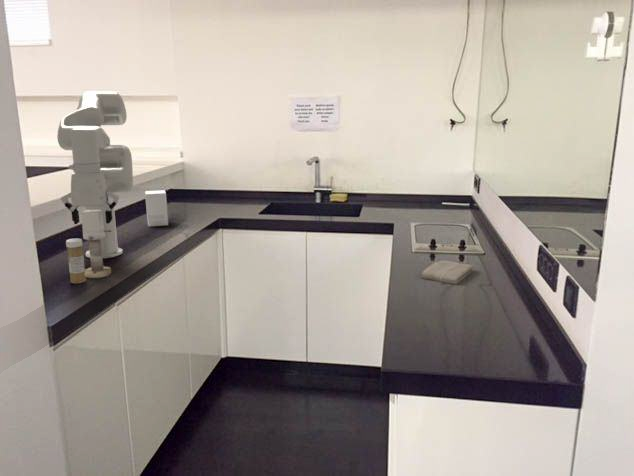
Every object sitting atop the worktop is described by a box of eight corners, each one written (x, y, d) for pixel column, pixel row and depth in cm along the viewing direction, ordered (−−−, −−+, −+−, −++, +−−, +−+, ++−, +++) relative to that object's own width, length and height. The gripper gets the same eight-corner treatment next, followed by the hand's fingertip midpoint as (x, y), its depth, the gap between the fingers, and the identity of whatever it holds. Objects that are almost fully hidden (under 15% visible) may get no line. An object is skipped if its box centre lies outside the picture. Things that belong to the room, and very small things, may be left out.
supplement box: (167, 221, 251) (165, 189, 247) (168, 225, 242) (166, 192, 239) (147, 222, 248) (144, 190, 244) (147, 226, 240) (145, 193, 236)
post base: (88, 270, 176) (85, 235, 174) (113, 270, 177) (110, 235, 174) (81, 278, 169) (77, 241, 166) (107, 277, 170) (104, 241, 167)
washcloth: (474, 271, 179) (475, 263, 179) (457, 286, 165) (457, 277, 164) (440, 266, 186) (440, 257, 185) (420, 279, 171) (421, 270, 170)
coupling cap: (80, 240, 166) (77, 214, 164) (87, 234, 174) (84, 209, 171) (108, 240, 167) (106, 213, 165) (114, 234, 175) (112, 208, 172)
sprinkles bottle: (73, 279, 168) (68, 238, 165) (88, 279, 168) (84, 237, 165) (68, 284, 164) (63, 241, 160) (83, 283, 164) (79, 241, 161)
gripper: (53, 170, 160) (60, 226, 164) (113, 170, 162) (118, 225, 166) (62, 167, 167) (68, 221, 172) (119, 167, 169) (123, 219, 174)
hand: (92, 222), depth 169 cm, fingers open, 9 cm apart
